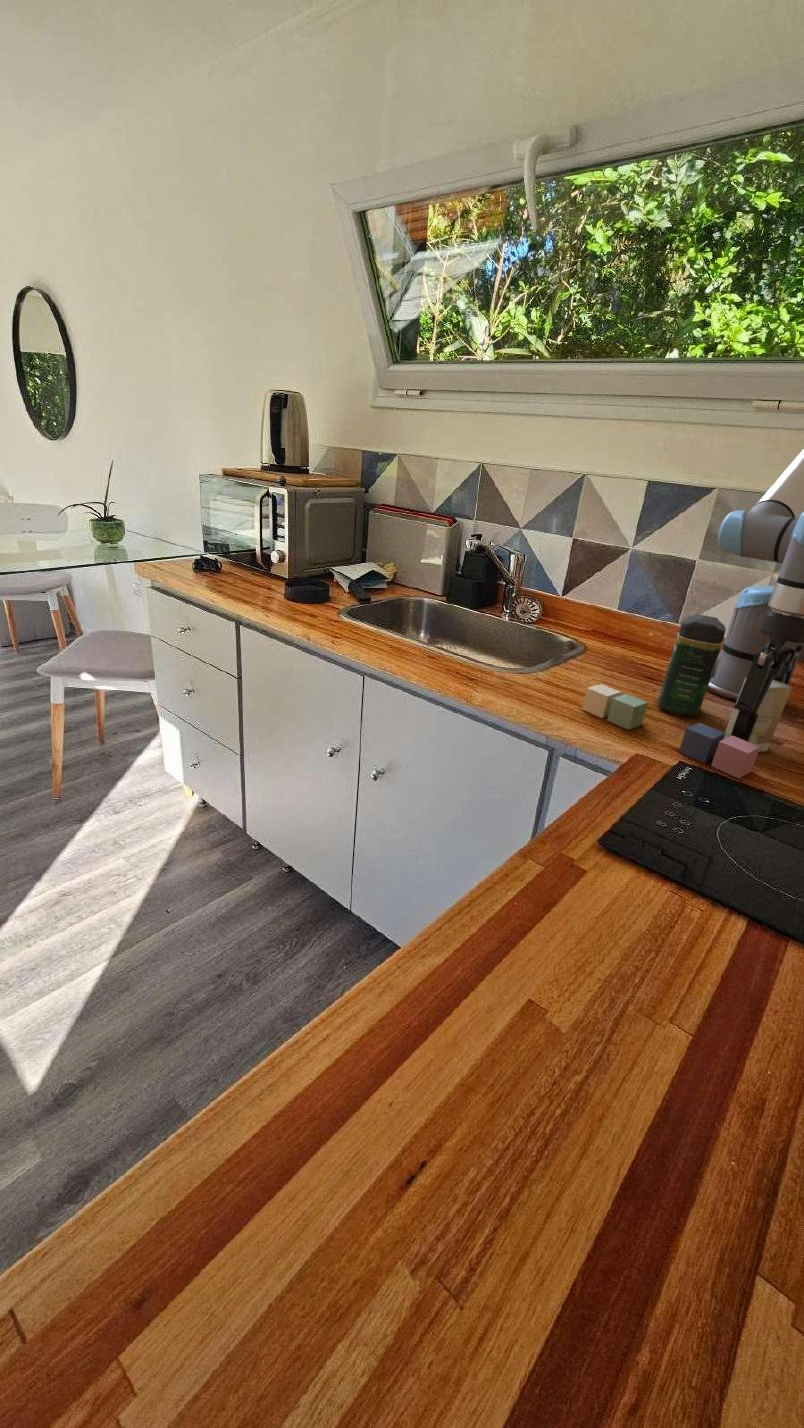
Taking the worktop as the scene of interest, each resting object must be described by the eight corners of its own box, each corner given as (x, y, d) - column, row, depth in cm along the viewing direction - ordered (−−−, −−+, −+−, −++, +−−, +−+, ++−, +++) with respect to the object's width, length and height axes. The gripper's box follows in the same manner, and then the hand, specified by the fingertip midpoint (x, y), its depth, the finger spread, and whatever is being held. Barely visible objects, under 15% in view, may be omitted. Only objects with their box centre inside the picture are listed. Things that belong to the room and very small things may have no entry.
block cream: (595, 705, 116) (600, 683, 114) (615, 713, 113) (621, 691, 111) (582, 709, 113) (587, 687, 111) (602, 718, 110) (607, 696, 108)
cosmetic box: (739, 753, 101) (763, 687, 96) (720, 741, 105) (743, 677, 100) (769, 751, 103) (794, 686, 98) (749, 740, 107) (773, 676, 102)
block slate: (691, 746, 102) (699, 722, 101) (717, 757, 99) (725, 732, 98) (678, 752, 100) (686, 728, 98) (704, 763, 97) (713, 738, 95)
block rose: (723, 759, 99) (731, 735, 97) (751, 771, 96) (760, 746, 94) (710, 766, 96) (719, 741, 94) (739, 778, 93) (748, 753, 91)
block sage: (620, 715, 112) (626, 693, 110) (641, 724, 109) (648, 702, 107) (606, 720, 109) (612, 698, 108) (628, 730, 106) (634, 707, 104)
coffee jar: (698, 721, 113) (728, 627, 105) (654, 710, 116) (681, 617, 108) (700, 705, 121) (729, 616, 113) (659, 695, 124) (685, 608, 116)
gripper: (795, 626, 86) (743, 764, 95) (841, 613, 98) (791, 737, 107) (742, 612, 91) (698, 745, 100) (792, 602, 103) (749, 721, 112)
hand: (746, 741), depth 104 cm, fingers closed on cosmetic box, 7 cm apart
